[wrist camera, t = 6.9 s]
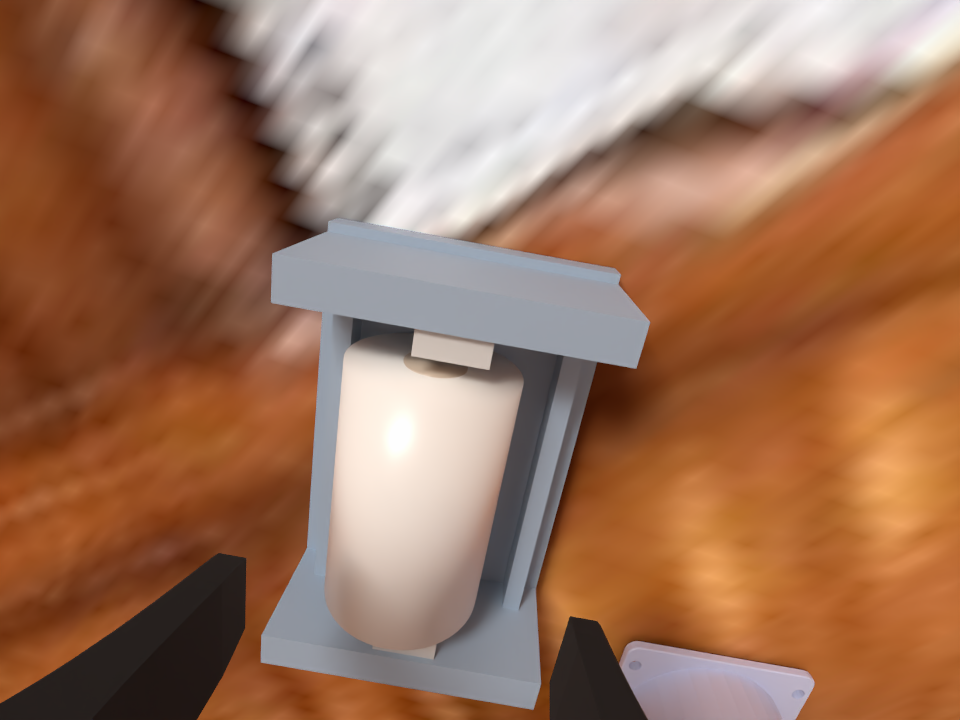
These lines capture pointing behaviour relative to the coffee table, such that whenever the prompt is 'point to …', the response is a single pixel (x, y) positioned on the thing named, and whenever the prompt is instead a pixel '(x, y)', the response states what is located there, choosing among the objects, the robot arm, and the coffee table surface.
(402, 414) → the roll
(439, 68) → the coffee table surface
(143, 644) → the robot arm
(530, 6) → the coffee table surface
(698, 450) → the coffee table surface
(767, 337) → the coffee table surface
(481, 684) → the holder
